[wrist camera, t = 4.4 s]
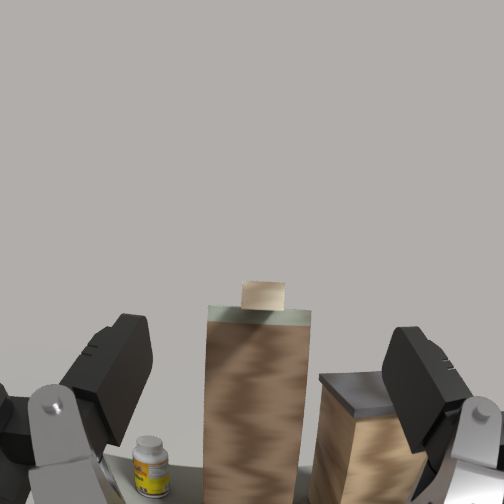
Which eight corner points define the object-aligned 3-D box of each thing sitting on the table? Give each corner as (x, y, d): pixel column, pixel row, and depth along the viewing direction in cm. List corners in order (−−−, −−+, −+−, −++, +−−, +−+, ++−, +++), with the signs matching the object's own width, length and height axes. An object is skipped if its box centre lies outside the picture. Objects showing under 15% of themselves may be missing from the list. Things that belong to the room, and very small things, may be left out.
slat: (268, 308, 43) (269, 294, 44) (283, 310, 22) (284, 282, 22) (247, 307, 43) (248, 292, 44) (240, 308, 22) (242, 280, 22)
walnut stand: (277, 496, 38) (293, 309, 43) (284, 549, 24) (311, 310, 29) (215, 493, 38) (222, 305, 43) (204, 545, 24) (208, 305, 30)
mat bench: (366, 488, 38) (386, 370, 42) (402, 542, 21) (446, 396, 25) (304, 494, 38) (319, 373, 42) (322, 558, 22) (354, 409, 25)
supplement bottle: (132, 483, 37) (128, 433, 39) (163, 480, 40) (161, 432, 42) (141, 500, 32) (135, 449, 34) (174, 497, 35) (172, 447, 37)
